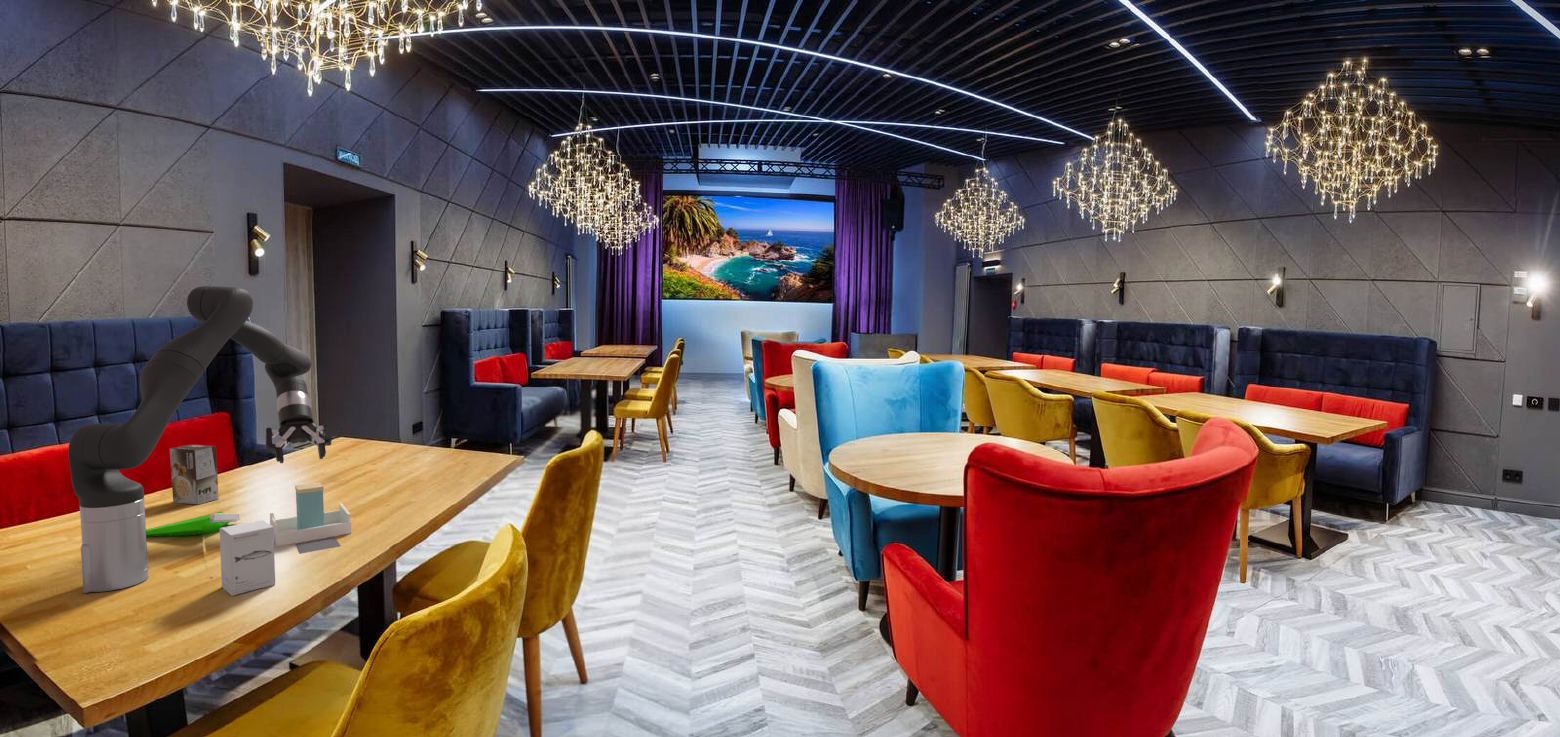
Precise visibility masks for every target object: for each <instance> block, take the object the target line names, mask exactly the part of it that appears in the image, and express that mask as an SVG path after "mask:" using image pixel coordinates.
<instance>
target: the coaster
mask: <svg viewBox="0 0 1560 737" xmlns="http://www.w3.org/2000/svg"><path fill="white" fill-rule="evenodd" d="M294 545H295V547H296V549H297V551H298V553H299V554H301V555H302V554H306V553H311V552H316V551H320V550H328V549H332V548H339V547H341V544H340V542H339V541H338V539H337V538H336V536H333V537H327V538H321V539H316V540H310V541H304V542H299V543H294Z"/></svg>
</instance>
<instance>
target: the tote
mask: <svg viewBox="0 0 1560 737" xmlns="http://www.w3.org/2000/svg"><path fill="white" fill-rule="evenodd" d="M269 524H270V525H271V526H273V527H274V546H275V547H281V546H286V545H292V544H298V543H304V542H309V541H315V540H321V539H326V538H332V537H337V536H344V535H350V534H352V522H351V513H350V511H349V510H348V509H347V507H346V506H345V505H344V504H343V503H342V502H339V503H338V509H337V510H336V509H335V510H332V511H331V510H330V511H324V526H319V527H313V528H307V529H301V530H297V516H292V517H291V516H290V517H285V518H278V519H276V517H275V515H274V513H273V512H272V513H271V512H270V513H269Z"/></svg>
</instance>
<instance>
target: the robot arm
mask: <svg viewBox="0 0 1560 737" xmlns="http://www.w3.org/2000/svg"><path fill="white" fill-rule="evenodd" d="M253 300H254V299H253V296H252V295H251V293H250V292H248V291H247V290H246V289H243V288H241V287H240V288H239V287H236V286H234V287H233V286H216V285H215V286H214V285H205V286H204V285H203V286H197V287H195V288H193V289H192V290H191V291H190V292H189V293H188V296H187V300H186V306H187V310H188V311H189V314H190V315H191V316H192V317H193V318H194V319H195V320H197V321H198V322H200V323H201V324H200V325H199V326H197V327H195V328H193V329H191V330H189V331H187V332H186V333H183V334H181V335H179V336H177V337H175V338H172V339H171V340H169V341H168V342H166V343H165V344H163V345H162V346H161V347H159V348H158V349H157V350H156V351H155V352H154V354H153V355H152V356H151V358H150V359H149V360H148V361H147V362H146V364H145V365H144V366H143V368H142V369H141V371H140V375H139V387H140V392H141V401H140V404H139V405H138V407H137V408H136V410H135V411H134V413H133V414H132V415H131V416H130V417H129V419H128V420H126V421H125V422H123V423H89V424H85V425H82V426H80V427H79V428H77V429H76V430H75V431H74V433H73V434H72V436H71V438H70V441H69V443H68V450H67V451H68V452H67V453H68V463H69V470H70V478H71V482H72V483H71V484H72V485H71V486H72V489H73V492H74V494H75V495H76V496H77V499H78V502H79V515H80V517H79V518H80V531H81V533H80V534H81V545H80V557H81V558H80V559H81V573H82V574H81V575H82V578H81V579H82V591H83V594H86V593H87V594H88V593H93V592H94V593H98V592H99V593H100V592H101V593H102V592H109V591H114V590H115V591H116V590H120V589H126V588H128V587H133V586H135V585H138V584H141V583H144V582H145V581H146V580H147V579H149V563H148V562H149V561H148V544H147V536H146V529H147V526H146V509H145V493H144V492H145V491H144V490H145V488H144V486H143V485H142V484H141V483H140V482H137V481H135V480H132V479H130V478H128V477H126V476H125V475H123V474H122V472H121V471H120V470H130V469H135V468H137V467H139V466H141V465H142V464H143V463H144V462H145V461H146V460H147V459H148V458H149V457H150V455H151V454H152V452H153V451H154V449H155V447H156V446H157V444H158V443H159V441H160V439H161V437H162V435H163V433H164V431H165V429H166V428H167V426H168V424H169V423H170V421H171V419H172V417H173V416H174V414H175V413H176V411H177V410H178V408H179V407H180V405H181V404H182V402H184V401H183V400H185V398H186V396H187V395H188V394H189V393H190V391H191V390H192V389H193V387H194V386H195V385H197V382H198V381H199V379H201V377H202V375H204V373H205V371H206V370H207V368H208V366H210V363H211V362H212V361H213V360H214V358H215V357H216V356H217V354H218V353H219V352H220V351H221V350H222V348H223V347H224V346H225V345H226V343H227V342H228V341H229V340H230V339H231V340H232V341H234V342H236V343H237V344H239V345H240V346H242V347H243V348H244V349H246V350H247V351H248V352H250V353H251V354H252V355H253V356H254V357H256V358H257V359H258V360H259V361H261V362H262V363H264V370H265V373H266V374H267V376H268V377H269V379H270V380H271V382H272V384H273V386H274V388H275V392H276V393H275V394H276V400H277V403H276V408H277V410H276V411H277V415H278V422H279V428H278V429H272V428H271V427H266V429H265V451H266V452H271V451H272V452H274V454H275V460H276V462H279V463H280V464H284V461H285V460H284V452H283V451H284V450H283V449H284V448H286V447H287V446H288V445H289V444H290V443H291V444H293V445H294V444H297V443H307V442H309V443H310V444H311V445H315V446H317V452H318V458H319V460H323V459H324V457H325V456H326V454H327V450H326V446H329V447H330V446H331V445H332V442H333V437H332V436H333V435H332V433H331V429H330V426H329V423H327V422H325V423H323V425H316V424H315V421H314V416H313V411H312V410H313V409H312V404H311V400H310V397H309V393H308V387H307V383H306V381H305V380H304V379H303V378H301V377H299V376H302V375H305V374H307V373H308V372H309V371H310V370H311V368H312V363H311V362H312V361H311V359H310V358H309V356H308V355H307V354H306V353H305V352H303V351H302V350H300V349H298V348H296V347H294V346H292V345H289V344H287V343H284V342H283V341H282V340H281V339H280V338H279V337H277V336H276V335H275V334H274V333H272V332H271V331H270V330H268V329H267V328H265V327H262V326H260V325H258V324H256V323H254V322H252V321H249V318H250V316H251V314H252V311H253V308H254V301H253ZM317 432H319V433H320V434H322V435H323V438H324V439H323V438H322V437H320V436H319V434H318V433H317ZM277 435H278V436H280V439H279V441H278V442H276V443H273V439H274V438H275V437H276V436H277Z"/></svg>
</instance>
